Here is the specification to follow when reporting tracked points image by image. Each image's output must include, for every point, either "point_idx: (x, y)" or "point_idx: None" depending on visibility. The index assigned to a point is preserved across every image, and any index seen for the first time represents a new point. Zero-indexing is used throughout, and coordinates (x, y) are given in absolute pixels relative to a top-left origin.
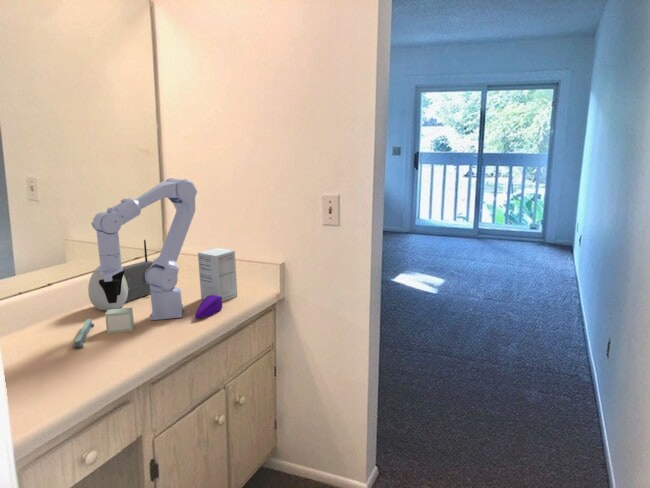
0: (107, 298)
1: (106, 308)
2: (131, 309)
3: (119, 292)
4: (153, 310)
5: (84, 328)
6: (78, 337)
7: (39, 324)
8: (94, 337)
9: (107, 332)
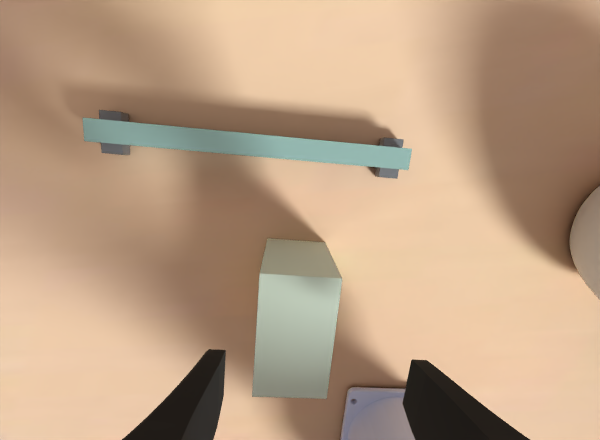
0: (184, 380)
1: (578, 221)
2: (290, 397)
3: (412, 421)
4: (382, 427)
5: (267, 149)
6: (140, 131)
7: None
8: (235, 190)
9: (267, 240)
